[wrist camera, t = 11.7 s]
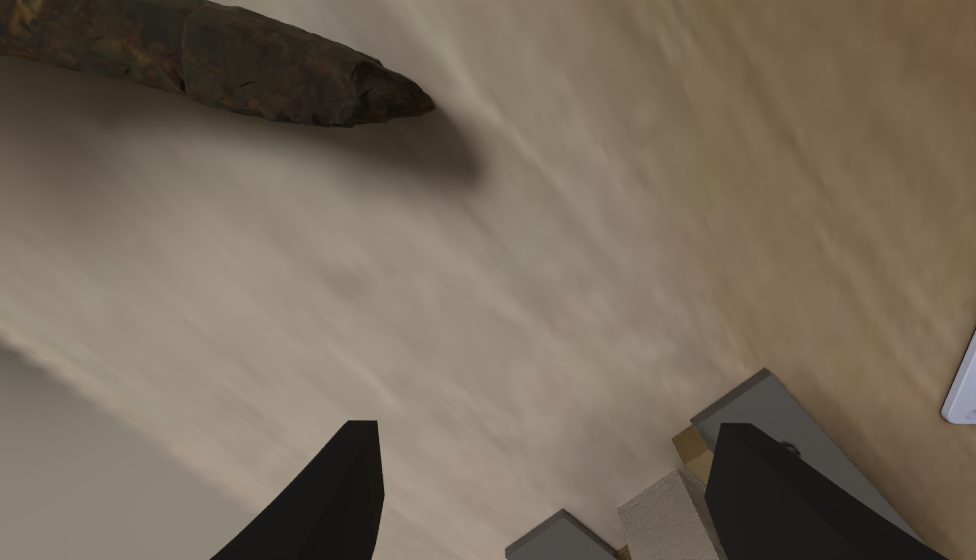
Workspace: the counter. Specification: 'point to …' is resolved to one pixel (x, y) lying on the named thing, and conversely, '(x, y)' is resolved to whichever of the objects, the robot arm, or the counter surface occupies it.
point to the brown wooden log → (213, 58)
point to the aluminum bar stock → (670, 522)
